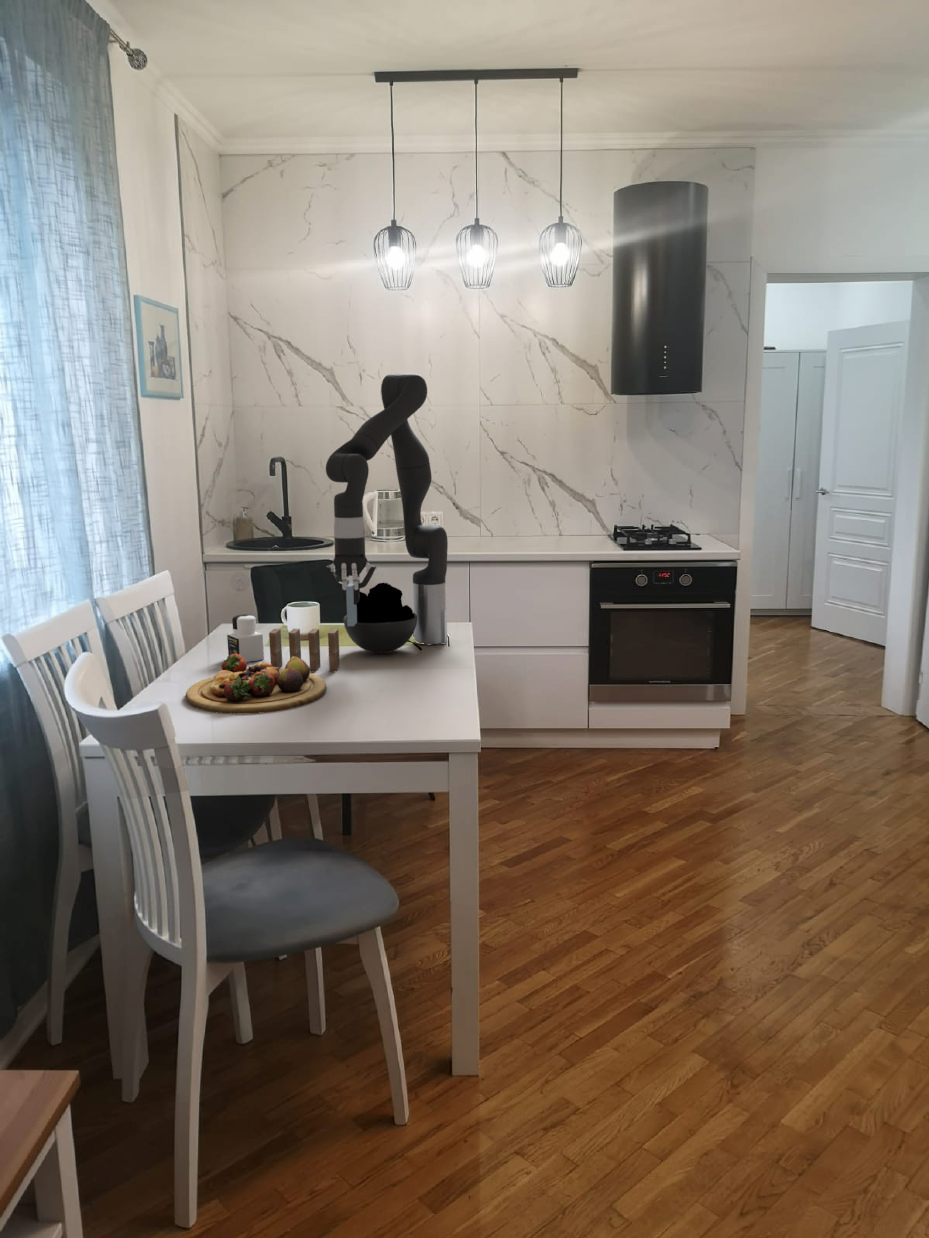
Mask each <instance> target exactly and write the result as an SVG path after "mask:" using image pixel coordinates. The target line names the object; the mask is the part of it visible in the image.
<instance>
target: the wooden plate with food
mask: <svg viewBox="0 0 929 1238" xmlns="http://www.w3.org/2000/svg"><path fill="white" fill-rule="evenodd" d="M326 691H327V683H326V681H325V680H324V679H323V678H322V677H320V676H318V675H317V674H314V673H313V672H310V665H308V663H306V661H305V660H304V659H302V658H301V659H300V658H298V657H294V656H293V657H292V658H291V659H290V658H289V660H288V661H287V663H286V665H285V667H284V668H281V669H279V668H278V667H272V666H271V663H268V662H263V661H262V662H260V663H258V662H257V663H255V664H254V665H251V666H248V664H247V663H246V662H245V660H244V658H243V657H242V656H241V655H239V654H232V655H230V656H227V657H226V659H223V662H222V664H221V670H220V671H218V672H216V674H215V675H214V676H210V677H207V678H203V679H202V680H199V681H198V682H195V683H193V684H192V685H190V687H189V688H188V689H187V691H186V692H185V700H186V702H187V703H188V704H189V705H190V706H191V707H193V708H195V709H197V708H198V709H197V710H201V711H205V712H211V713H216V712H218V714H229V713H232V715H238V714H237V713H250V714H260V713H259V712H264V713H271V712H279V711H285V710H286V711H287V710H290V709H296V708H298V707H302V706H306V705H309V704H312V703H314V702H316V701H317V700H318V701H319V699H321V698H323V696H324V695H325V694H326ZM220 712H221V713H220ZM233 713H235V714H233Z"/></svg>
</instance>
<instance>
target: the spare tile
mask: <svg viewBox="0 0 929 1238" xmlns="http://www.w3.org/2000/svg"><path fill="white" fill-rule="evenodd" d="M346 599H347V605H346V615H347V626H354V625H355V624H356V623H357V605H354V587H353V583H349V585H347V586H346Z"/></svg>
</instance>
